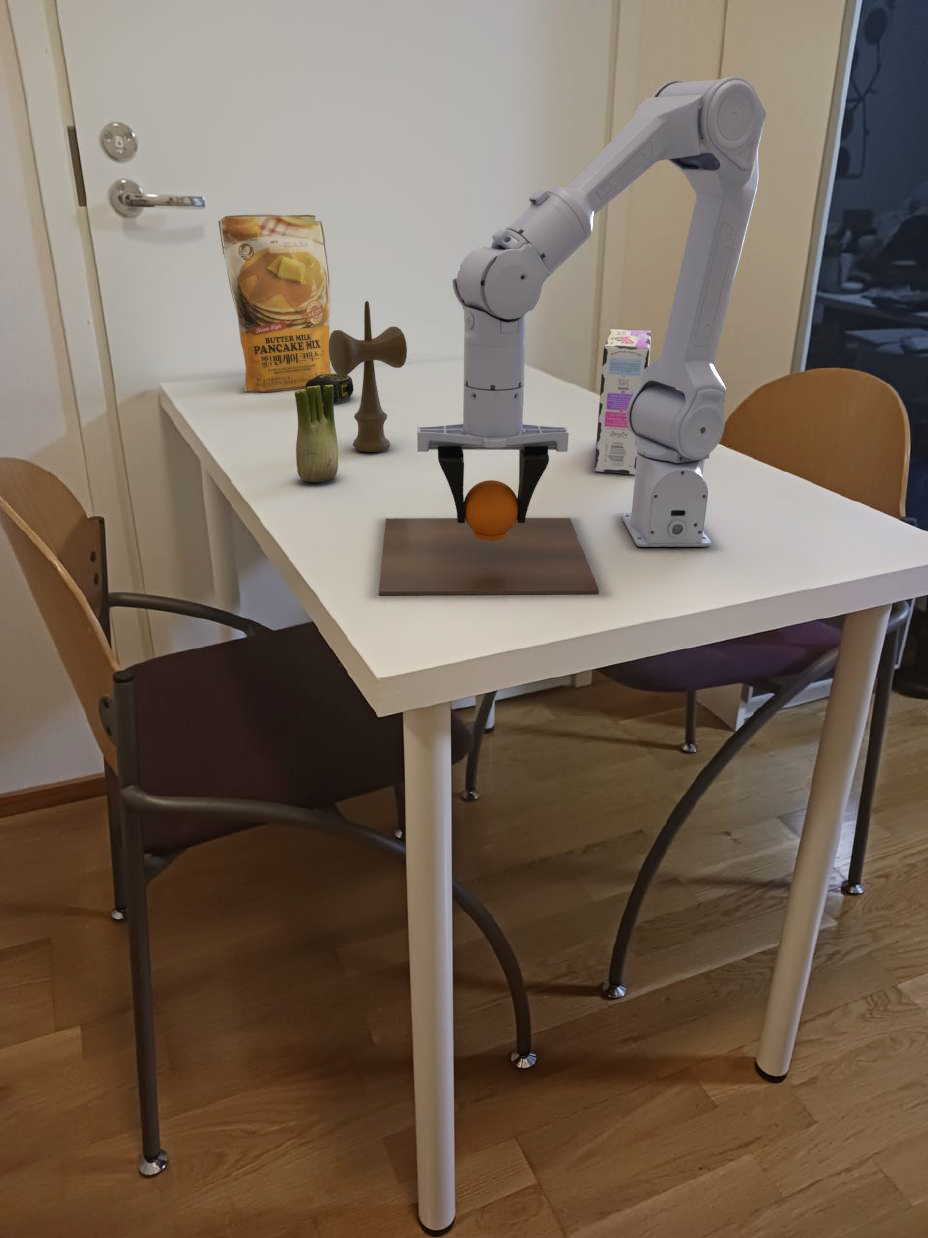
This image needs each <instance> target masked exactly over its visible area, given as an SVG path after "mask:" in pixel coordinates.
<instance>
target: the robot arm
mask: <svg viewBox="0 0 928 1238" xmlns="http://www.w3.org/2000/svg"><path fill="white" fill-rule="evenodd" d="M766 117H767V111H766V109H765V107H764V105H763V103H762V101H761V99H760V97H759V95H758V94H757V91H756V90H755V88H754V86H753V85H752V84H751V83H750V81H749V80H747V79H746V78H743V77H741V76H736V75H734V76H733V75H732V76H726V77H724V78H720V79H709V80H707V79H705V80H695V81H694V80H693V81H679V80H671V81H667V82H665V83H663V84H662V85H661V86H659V87H658V88H657V89H655V91H654V92H653V94H652V95H651V96H650V97H648V98H646V99H644V100H643V101H642V102H640V103H639V104H638V106H637V107H636V110H635V113H634V115H633V117H631V119H629V120H628V123H626V124H625V125H624V126H623V128H621V130H619V132H618V133H617V134H616V135H615V136H614V138H612V140H610V141H609V143H608V144H607V145H606V146H605V147H604V148H603V149H602V150H601V152H599V154H598V155H596V157H595V158H594V159H593V160H592V161H591V162H590V163H589V164H588V165H587V166H586V167H585V168H584V170H583V171H582V172H581V173H580V174H579V175H578V176H577V177H576V178H575V179H574V180H573V181H572V182H571V184H570V185H568V186H567V187H566V186H561V185H551V186H549V187H547V188H546V189H540V188H537V189H536V190H535V191H534V192H533V193H532V194H531V195H530V196H529V197H528V201H529V202H530V205H529V206H528V207H527V208H525V209H524V210H523V212H522V213H520V215H518V216H517V217H516V218H515V219H514V220H513V221H512V222H511V223H510V224H509V225H508V226H507V227H506V228H505V229H501V228H498V230H496V231H495V232H494V233H493V234H492V235H491V238H492V242H491V245H490V246H483V247H477V248H475V249H472V251H470V252H469V253H467V254H466V256H464V258H463V260H462V261H461V263H460V265H459V267H460V268H459V270H457V275H456V277H454V278H453V279H452V288H453V292H454V293H453V294H454V296H455V297H456V299H457V301H458V302H459V304H460V305H461V307H462V310H463V324H464V327H463V329H464V333H463V342H464V343H463V406H462V408H463V410H462V411H463V413H462V423H458V424H457V423H456V424H447V425H436V426H417V428H416V429H417V431H416V432H417V436H416V437H417V439H416V440H417V442H416V443H417V452H420V453H423V452H424V453H427V452H429V451H431V450H432V451H433V450H434V451H435V450H436V451H437V461H438V463H439V466H440V468H441V471H442V473H443V474H444V476H445V479H446V481H447V484H448V486H449V488H450V492H451V495H452V498H453V501H454V506H455V511H456V518H457V522H458V523H465V509H464V500H465V497H464V483H465V481H464V480H465V459H464V451H467V450H468V451H469V450H471V451H473V450H474V451H477V450H478V451H481V450H483V451H488V450H489V451H501V450H502V451H518V489H517V490H518V491H517V496H516V497H517V499H518V503H519V511H518V518H517V520H518V523H525V519H526V518H527V514H528V509H529V507H530V503H531V500H532V498H533V495H534V492H535V490H536V487H537V486H538V483H539V482H540V479H541V478H542V476H543V474H544V473H545V471H546V469H547V467H548V466H549V462H550V456H549V451H555V452H559V453H567V452H568V450H569V431H568V428H567V427H565V426H564V427H563V426H544V425H535V424H524V423H523V421H524V397H525V396H524V395H525V394H524V393H525V368H526V367H525V366H526V343H527V320H528V319H527V314H528V312H531V311H533V310H534V309H535V307H536V306H537V304H538V302H539V300H540V297H541V293H542V289H543V285H544V283H545V282H546V281H547V280H548V278H549V277H550V276H551V275H552V274H553V273H555V272H556V271H557V269H559V267H561V266H562V265H563V264H564V263H565V262H566V261H567V259H569V258H570V257H571V256H572V255H573V254H575V252H576V251H577V250H578V249H579V248H581V247H582V246H583V245H584V244H585V243H586V242H587V240H589V239H590V237H591V236H592V232H593V222H594V216H595V215H596V214H597V213H599V212H600V211H601V210H602V209H603V208H605V206H607V205H608V204H609V203H610V202H611V201H613V200H614V199H615V198H616V197H618V195H620V194H621V193H622V192H623V191H624V190H626V188H628V187H629V186H630V185H632V183H634V182H635V181H636V180H637V179H638V178H639V177H641V176H642V175H643V174H645V172H646V171H648V170H649V169H651V168H652V166H654V165H655V164H656V163H658V162H660V161H666V160H667V161H668V162H669V163H670V164H671V165H673V166H674V167H675V168H676V169H677V170H679V171H680V172H681V173H682V174H683V175H684V176H685V179H686V180H687V182H688V183H689V185H690V187H691V188H692V190H693V191H694V193H695V202H694V206H693V211H692V216H691V220H690V225H689V229H688V233H687V237H686V242H685V247H684V250H683V255H682V260H681V264H680V270H679V273H678V276H677V277H678V278H677V282H676V287H675V291H674V295H673V300H672V304H671V308H670V313H669V316H668V322H667V326H666V330H665V334H664V340H663V344H662V348H661V352H660V356H659V357H657V358H656V359H655V360H654V361H653V362H652V363H649V366H648V367H647V368H645V369H644V370H643V372H642V377H641V381H640V384H639V386H638V388H637V390H636V392H635V393H634V395H633V396H632V398H631V400H630V402H629V404H628V408H627V414H626V418H627V425H628V427H629V429H630V431H631V432H632V433H633V434H634V435H635V436H636V437H635V446H637V447H638V449H637V450H638V451H637V460H636V471H635V475H634V484H633V493H632V505H631V512H624V513H622V514H621V519H622V521H623V523H624V524H625V526H626V528H627V530H628V532H629V534H630V535H631V538H632V539H633V541H634V543H635V545H636V546H637V547H641V548H646V547H647V548H658V547H659V548H661V547H663V548H664V547H669V548H670V547H671V548H672V547H673V548H677V547H683V548H684V547H685V548H686V547H689V548H690V547H692V548H693V547H694V548H695V547H696V548H697V547H699V548H700V547H710V546H711V543H712V542H711V540H710V539H709V538H708V536H707V534H706V533H705V532H704V529H705V521H706V512H707V507H708V506H707V505H708V496H709V489H708V485H707V482H706V480H705V478H704V476H703V475H704V467H705V461H706V460H707V459H710V454H711V453H712V452H713V451H714V450H715V449H716V448H717V446H718V445H719V444H720V442H721V440H722V438H723V435H724V432H725V428H726V416H725V400H726V396H727V393H728V391H727V388H726V386H725V384H724V382H723V380H722V379H721V377H720V375H719V373H718V372H717V370H716V368H715V366H714V365H715V360H716V357H717V351H718V348H719V344H720V340H721V337H722V336H721V335H722V333H723V332H722V331H723V329H724V323H725V319H726V316H727V312H728V308H729V304H730V300H731V295H732V292H733V288H734V284H735V283H734V282H735V279H736V275H737V271H738V266H739V264H740V263H739V262H740V259H741V255H742V250H743V246H744V242H745V238H746V234H747V231H748V227H749V223H750V218H751V214H752V209H753V205H754V202H755V198H756V193H757V190H758V184H759V146H760V142H761V138H762V134H763V129H764V125H765V123H766V122H765V121H766Z"/></svg>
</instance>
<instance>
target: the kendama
mask: <svg viewBox="0 0 928 1238" xmlns="http://www.w3.org/2000/svg"><path fill="white" fill-rule="evenodd" d="M363 329H364V330H363V337H364V338H363V339H356V338H354V337H352V335H349V334H348V333H346V332H345V331H343V330H341V329H335V330H333V331H332V332H330V339H329V357H330V366H331V367H332V369H333V370H334V372H335V374H338V375H339V376H347V375H348V376H349V374H351V373H352V372H353V371H354V370H355V369H356V368H357V367H358V366H359V365H360V364H362V363H363V374H362V375H363V376H362V387H361V397H360V404H359V408H358V411H357V412H355V413H354V416H353V419H354V420H355V421H356V422H357V435H356V437H355V439H354V440H353V442H352V446H353V447H354V449H355V450H357V451H361V452H365V453H377V452H381V451H384V450H385V451H386V450H387V449H389V448H390V447H391V441H390V440H389V439H387V438H386V436H385V430H384V429H385V428H384V426H385V425H384V424H385V422H386V421H387V419H388V414H387V413H386V412H385V411H384V410H383V408H382V406H381V405H382V404H381V402H380V397H379V396H380V395H379V391H378V386H377V385H378V384H377V378H376V371H375V370H376V369H375V361H379V362H382V363H384V364H385V365H387V366H388V365H389V366H390V367H392V368H395V369H400V368H402V367H403V366H405V363H406V361H407V357H408V356H407V355H408V344H407V339H406V336H405V334H404V332H403V331H402V329H401V328H399V327H398V326H389V327H387V328H386V329H385V330H383V332H381V333H380V334H378V336H376V337H373V334H372V320H371V308H370V302H369V301H368V300H366V301H365V302H364V309H363Z"/></svg>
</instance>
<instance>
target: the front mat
mask: <svg viewBox="0 0 928 1238" xmlns="http://www.w3.org/2000/svg"><path fill="white" fill-rule="evenodd" d="M380 566H381V567H380V575H379V576H380V577H379V588H378V595H379V596H440V595H441V596H443V595H444V596H447V595H450V596H451V595H453V596H458V595H459V596H460V595H461V596H462V595H463V596H465V595H466V596H468V595H597V594H598V595H599V594H600V589H599V586H598V584H597V582H596V579H595V575H594V574H593V571H592V569H591V566H590V564H589V561H588V559H587V556H586V553H585V551H584V548H583V546H582V543H581V542H580V539H579V536H578V534H577V532H576V528H575V526H574V524H573V521H572V519H571V517H526V519H525V523H518V520H516V522H515V524H514V525H513V526H512V528H511V529H509V530H508V531H507V536H506V537H505V538H504V539H501V540H494V541H488V540H482V539H478V538H476V537H475V536H474V530H473V529H472V528H471V527H470V526H469V525H468V524H467V522H466V520H465V523H458V522H457V517H448V518H447V517H440V518H439V517H432V518H429V517H427V518H424V517H423V518H422V517H421V518H420V517H418V518H417V517H416V518H414V517H413V518H412V517H411V518H410V517H408V518H407V517H406V518H402V517H401V518H399V517H398V518H396V517H395V518H394V517H393V518H391V517H390V518H388V517H387V518H385V525H384V536H383V545H382V557H381V565H380Z"/></svg>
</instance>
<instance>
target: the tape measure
mask: <svg viewBox="0 0 928 1238" xmlns="http://www.w3.org/2000/svg"><path fill="white" fill-rule="evenodd" d="M319 385H320V388H321V395H322V400H323V386H325V385H333V387H334V392H333V395H334V402H339V401H341V400H345V399H349V398H351V397H352V395H353V394H354V393H353V392H354V383H353V378H352V377H351V376H350V375H349V374H348V375H347V376H339V375H338V374H337V373H331V374H323V375H319V376H317V377H315V378H313V379H311V380H309V381H308V382H307V383H306V388H307V387H311V386H319ZM306 388H305V389H306Z"/></svg>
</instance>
